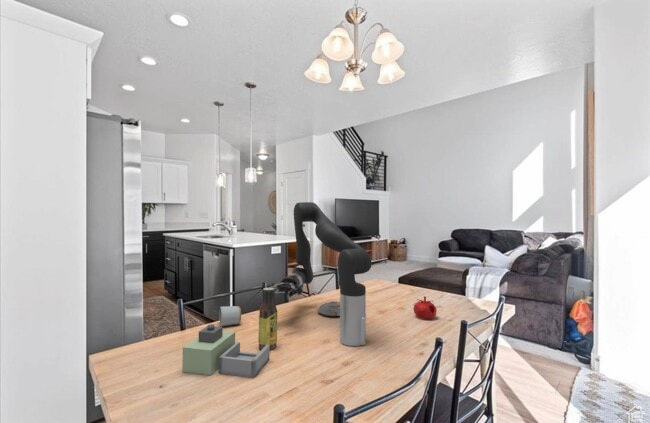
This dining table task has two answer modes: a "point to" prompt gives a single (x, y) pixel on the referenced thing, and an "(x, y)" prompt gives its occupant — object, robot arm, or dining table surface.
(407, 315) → the dining table surface
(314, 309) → the dining table surface
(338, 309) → the flying saucer
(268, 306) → the sauce bottle
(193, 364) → the knobbed green block
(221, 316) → the white cylinder
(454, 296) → the dining table surface
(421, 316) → the red round fruit
